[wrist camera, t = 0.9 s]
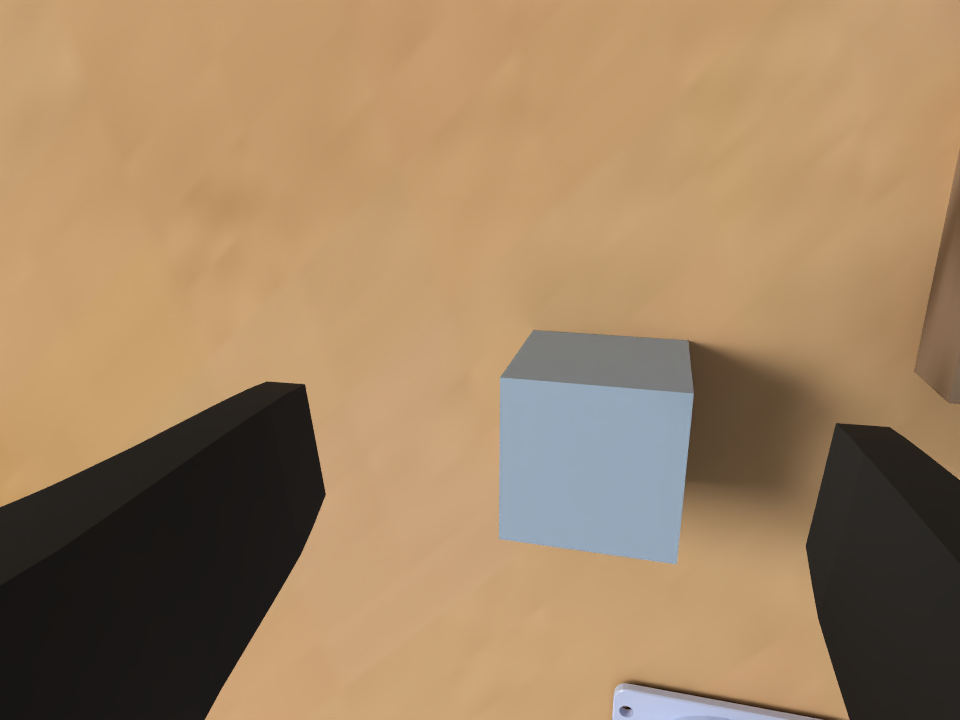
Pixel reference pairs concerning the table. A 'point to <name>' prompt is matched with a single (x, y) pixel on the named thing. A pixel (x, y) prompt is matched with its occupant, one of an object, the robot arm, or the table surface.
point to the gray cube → (596, 443)
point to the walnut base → (944, 310)
